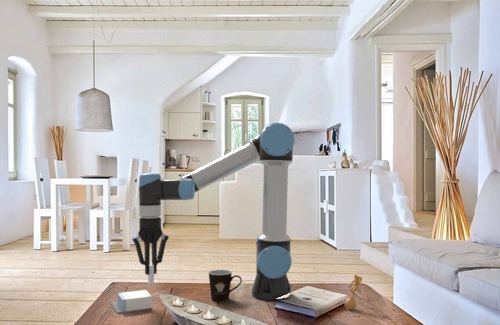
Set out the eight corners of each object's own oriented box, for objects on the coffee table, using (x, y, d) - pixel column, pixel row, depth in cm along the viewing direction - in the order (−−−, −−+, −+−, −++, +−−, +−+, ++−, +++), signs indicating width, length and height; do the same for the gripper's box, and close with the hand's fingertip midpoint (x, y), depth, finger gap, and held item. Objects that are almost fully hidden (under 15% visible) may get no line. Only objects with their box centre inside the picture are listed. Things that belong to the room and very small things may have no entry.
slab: (145, 289, 169) (117, 293, 165) (151, 296, 161) (122, 299, 157) (145, 300, 169) (117, 304, 165) (151, 307, 161) (122, 311, 157)
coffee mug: (204, 301, 171) (204, 273, 171) (214, 295, 179) (214, 268, 179) (233, 304, 166) (233, 276, 166) (242, 298, 174) (242, 271, 174)
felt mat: (141, 299, 173) (141, 298, 173) (149, 309, 161) (149, 308, 161) (110, 303, 168) (110, 302, 168) (117, 313, 156) (117, 312, 156)
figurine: (341, 306, 165) (341, 272, 165) (357, 305, 166) (357, 271, 166) (348, 313, 157) (348, 277, 157) (366, 313, 157) (366, 277, 157)
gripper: (165, 214, 172) (165, 278, 172) (129, 217, 166) (130, 283, 166) (171, 216, 165) (171, 283, 165) (134, 219, 159) (134, 288, 159)
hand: (151, 283), depth 165 cm, fingers closed
